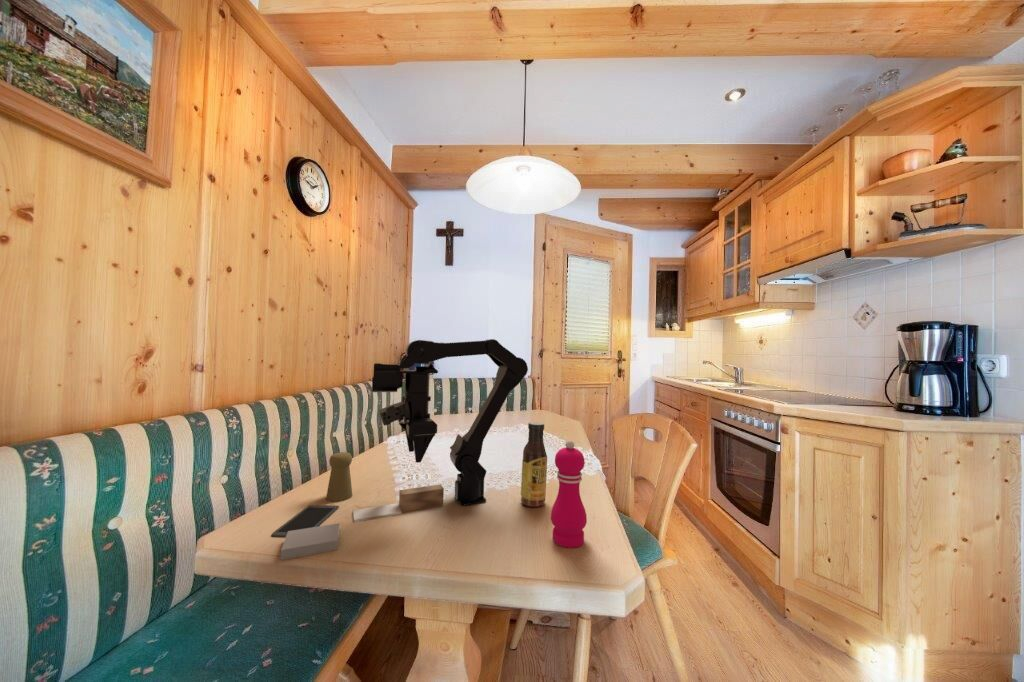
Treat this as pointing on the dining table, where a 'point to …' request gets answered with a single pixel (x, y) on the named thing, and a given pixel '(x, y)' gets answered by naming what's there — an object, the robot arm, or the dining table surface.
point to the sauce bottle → (534, 467)
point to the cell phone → (306, 519)
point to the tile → (310, 541)
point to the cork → (339, 477)
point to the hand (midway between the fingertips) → (414, 456)
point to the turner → (405, 503)
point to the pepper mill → (569, 498)
